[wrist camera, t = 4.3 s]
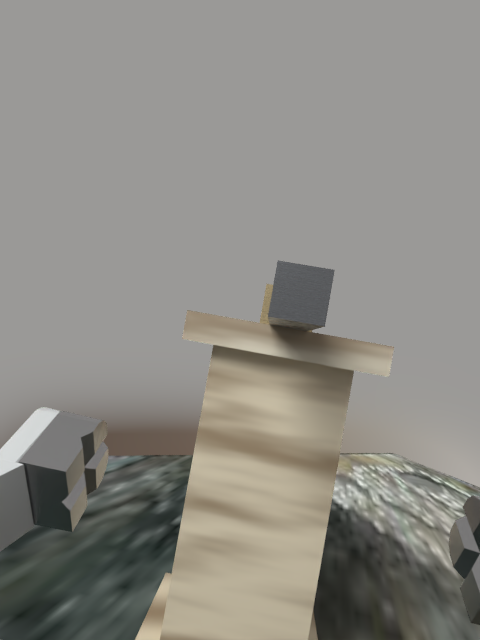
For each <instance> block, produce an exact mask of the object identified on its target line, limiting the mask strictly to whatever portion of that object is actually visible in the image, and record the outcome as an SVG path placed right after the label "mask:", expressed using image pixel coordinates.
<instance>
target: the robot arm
mask: <svg viewBox="0 0 480 640" xmlns="http://www.w3.org/2000/svg"><path fill="white" fill-rule="evenodd" d="M106 435H107V423H106V422H105V421H103V420H99V419H95V418H91V417H86V416H82V415H78V414H73V413H69V412H65V411H63V412H62V411H58V410H54V409H50V408H46V407H42V408H40V409H38V410H36V411H35V412H34V413H33V414H32V415H31V416H30V417H29V418H28V420H27V421H26V422H25V423H24V424H23V425H22V426H21V427H20V428H19V429H18V431H17V432H16V433H15V434H14V435H13V436H12V437H11V438H10V439H9V440H8V441H7V443H6V444H5V445H4V446H3V447H2V448H1V449H0V551H2V550H3V549H4V548H6V547H7V546H8V545H10V544H11V543H13V542H14V541H15V540H17V539H18V538H20V537H21V536H22V535H24V534H25V533H26V532H28V531H29V530H31V529H32V528H33V527H34V524H35V525H40V526H45V527H50V528H55V529H60V530H65V531H70V532H73V530H74V528H75V526H76V525H77V523H78V521H79V519H80V518H81V516H82V514H83V512H84V511H85V509H86V507H87V495H88V494H89V493H91V492H93V491H94V490H96V489H97V488H98V486H99V484H100V482H101V480H102V478H103V475H104V472H105V469H106V467H107V461H108V448H107V446H106V445H105V444H104V442H103V440H104V438H105V437H106ZM463 509H464V511H465V514H466V516H464V517H462V518H460V519H458V520H456V521H455V523H454V525H453V527H452V529H451V531H450V538H449V550H450V556H451V560H452V563H453V567H454V568H455V569H456V570H457V571H458V573H459V574H460V575H461V576H462V577H463V578H464V581H463V583H462V585H461V587H460V590H461V593H462V597H463V600H464V603H465V606H466V609H467V613H468V616H469V619H470V622H471V623H474V624H478V625H480V497H478V496H471V497H470V498H468V499H467V501H466V502H465V504H464V506H463Z"/></svg>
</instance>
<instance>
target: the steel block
mask: <svg viewBox="0 0 480 640" xmlns="http://www.w3.org/2000/svg"><path fill="white" fill-rule="evenodd" d="M333 276H334V270H331V269H325V268H319V267H313V266H307V265H301V264H295V263H289V262H283V261H278V262H277V268H276V274H275V280H274V285H269V284H267V286H266V291H265V297H264V302H263V308H262V313H261V319H260V323H262V324H268V325H274V326H279V327H285V328H290V329H296V330H302V331H307V332H312V330H314V329H317V328H321V327H325V322H326V316H327V310H328V305H329V299H330V293H331V287H332V281H333Z"/></svg>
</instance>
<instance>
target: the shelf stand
mask: <svg viewBox="0 0 480 640" xmlns="http://www.w3.org/2000/svg"><path fill="white" fill-rule="evenodd" d="M182 339H186V340H191V341H196V342H202V343H207V344H213V351H212V357H211V362H210V367H209V373H208V378H207V384H206V389H205V395H204V400H203V406H202V411H201V417H200V422H199V428H198V433H197V438H196V445H195V449H194V455H193V460H192V466H191V471H190V477H189V482H188V488H187V493H186V499H185V504H184V510H183V515H182V521H181V526H180V532H179V537H178V542H177V548H176V553H175V559H174V564H173V570H172V574H169V573H166V574H165V576H164V578H163V580H162V583H161V585H160V587H159V589H158V591H157V593H156V596H155V598H154V600H153V602H152V604H151V607H150V609H149V611H148V613H147V615H146V617H145V620H144V622H143V624H142V626H141V628H140V630H139V633H138V635H137V637H136V639H135V640H318V638H317V631H316V625H315V618H314V611H313V607H314V601H315V595H316V589H317V584H318V578H319V572H320V566H321V560H322V554H323V548H324V543H325V537H326V531H327V525H328V519H329V513H330V508H331V502H332V496H333V490H334V484H335V478H336V472H337V467H338V461H339V455H340V449H341V443H342V437H343V431H344V426H345V420H346V413H347V408H348V402H349V396H350V390H351V384H352V379H353V373H354V371H360V372H365V373H370V374H376V375H381V376H387V377H389V374H390V368H391V362H392V356H393V350H394V347H392V346H386V345H380V344H375V343H369V342H363V341H358V340H352V339H347V338H341V337H335V336H330V335H324V334H319V333H313V332H307V331H302V330H296V329H290V328H285V327H279V326H274V325H268V324H262V323H257V322H251V321H245V320H240V319H234V318H229V317H223V316H217V315H212V314H206V313H200V312H194V311H189V310H188V311H187V315H186V321H185V326H184V332H183V337H182Z"/></svg>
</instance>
